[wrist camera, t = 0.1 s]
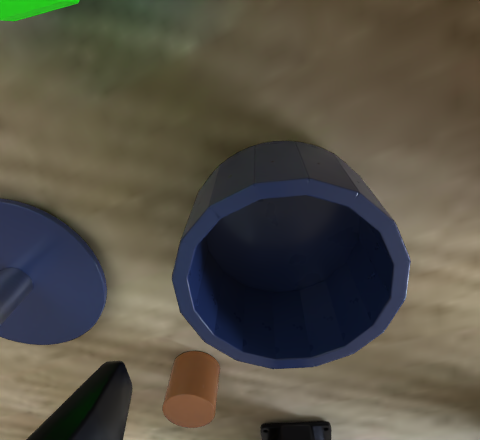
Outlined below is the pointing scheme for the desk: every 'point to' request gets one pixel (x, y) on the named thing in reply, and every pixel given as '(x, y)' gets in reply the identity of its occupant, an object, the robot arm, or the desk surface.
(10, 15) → the plastic bottle
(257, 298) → the blue short hollow cylinder
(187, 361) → the brown cylinder
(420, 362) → the desk surface
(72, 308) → the lid
